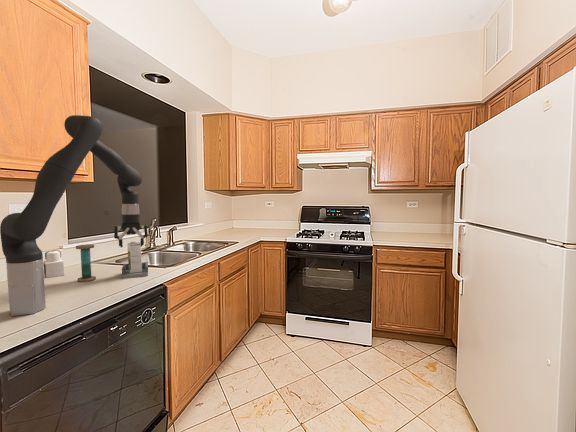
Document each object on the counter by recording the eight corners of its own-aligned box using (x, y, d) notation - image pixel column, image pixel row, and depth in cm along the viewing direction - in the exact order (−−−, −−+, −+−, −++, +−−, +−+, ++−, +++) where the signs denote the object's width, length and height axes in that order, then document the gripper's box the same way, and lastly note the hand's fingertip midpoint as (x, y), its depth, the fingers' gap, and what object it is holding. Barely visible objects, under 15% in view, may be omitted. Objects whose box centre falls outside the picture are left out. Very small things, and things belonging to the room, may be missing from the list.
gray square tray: (147, 276, 143) (147, 266, 142) (121, 278, 138) (121, 269, 138) (148, 270, 153) (147, 262, 152) (124, 273, 148) (123, 264, 148)
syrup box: (129, 270, 146) (126, 242, 145) (142, 269, 149) (140, 240, 148) (129, 273, 141) (126, 243, 140) (142, 271, 144) (140, 242, 143)
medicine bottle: (44, 275, 144) (42, 251, 143) (62, 272, 149) (61, 249, 148) (45, 278, 139) (44, 253, 138) (64, 275, 144) (63, 251, 143)
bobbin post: (94, 281, 134) (92, 246, 133) (75, 283, 131) (74, 247, 130) (97, 277, 141) (95, 243, 139) (79, 278, 138) (77, 245, 137)
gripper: (112, 214, 136) (113, 249, 137) (147, 213, 142) (147, 246, 143) (114, 213, 143) (115, 246, 144) (147, 212, 149) (148, 244, 150)
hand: (131, 246), depth 143 cm, fingers open, 8 cm apart
